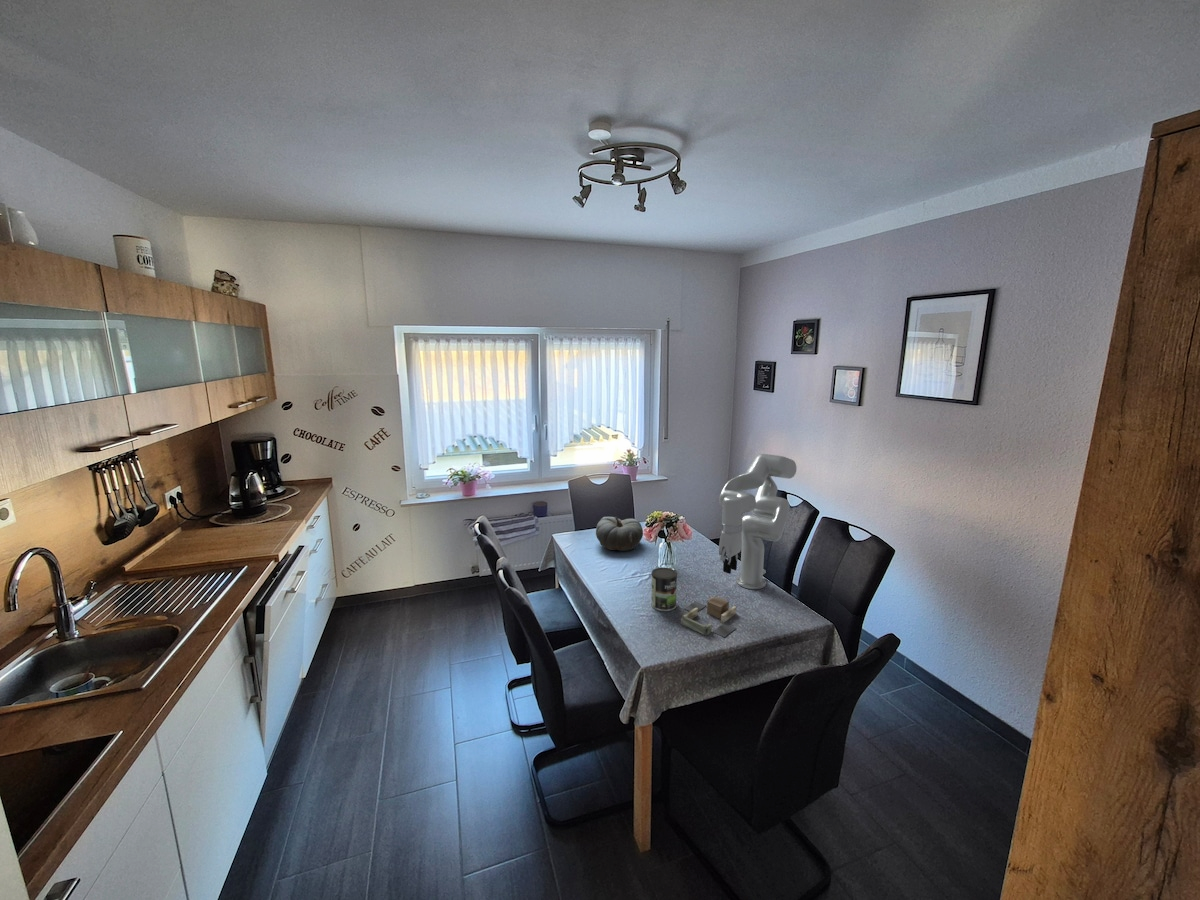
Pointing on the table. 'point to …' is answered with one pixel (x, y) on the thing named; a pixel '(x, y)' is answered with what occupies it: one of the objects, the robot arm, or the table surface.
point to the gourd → (619, 533)
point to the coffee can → (664, 589)
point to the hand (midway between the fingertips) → (729, 570)
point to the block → (717, 606)
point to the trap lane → (721, 630)
